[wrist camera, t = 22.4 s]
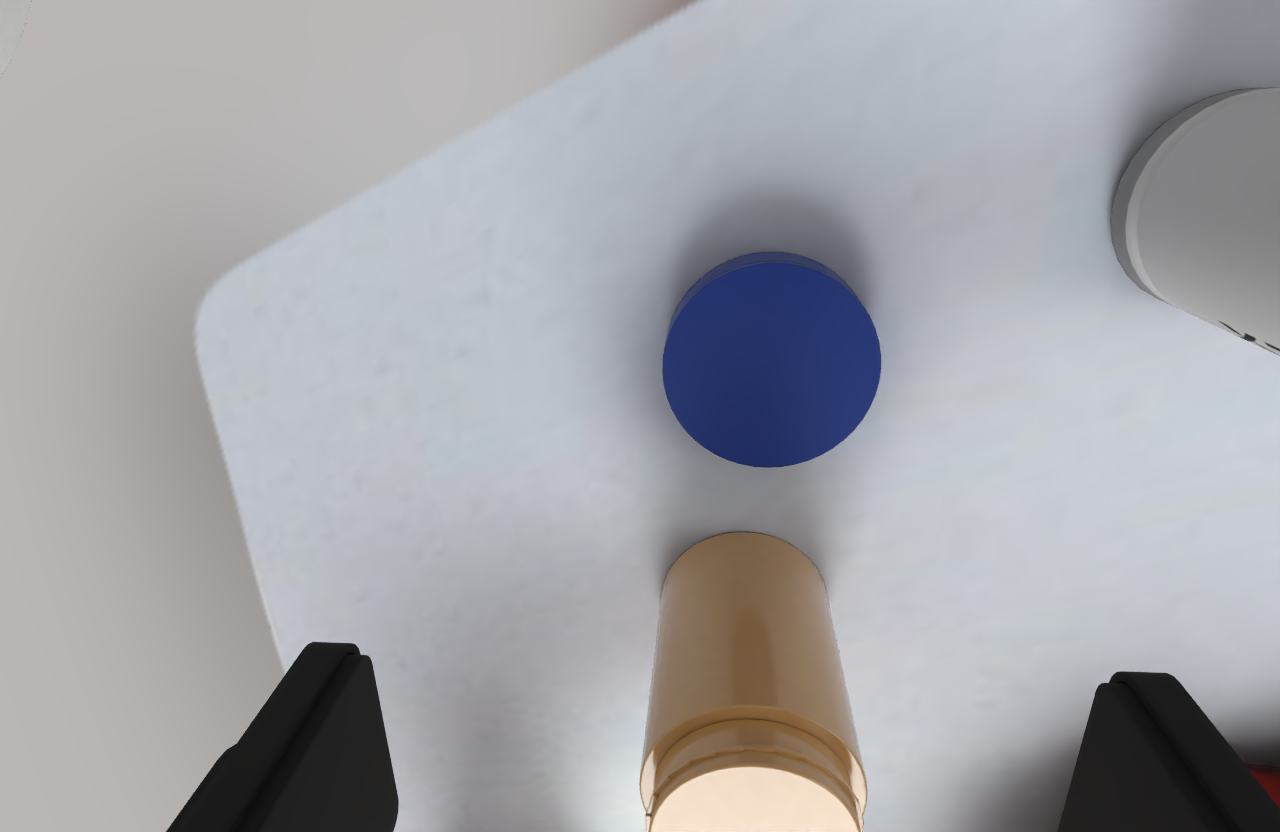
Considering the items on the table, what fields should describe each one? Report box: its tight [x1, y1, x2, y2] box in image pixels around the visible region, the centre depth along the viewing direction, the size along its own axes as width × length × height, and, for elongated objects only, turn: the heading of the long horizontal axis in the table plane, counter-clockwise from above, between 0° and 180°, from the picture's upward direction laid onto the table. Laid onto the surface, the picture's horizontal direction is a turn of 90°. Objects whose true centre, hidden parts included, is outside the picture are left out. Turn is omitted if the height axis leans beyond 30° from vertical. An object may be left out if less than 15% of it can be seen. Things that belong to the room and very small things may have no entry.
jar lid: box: [662, 252, 881, 467], centre depth 25 cm, size 7×7×2 cm
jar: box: [640, 532, 867, 832], centre depth 25 cm, size 6×6×11 cm
